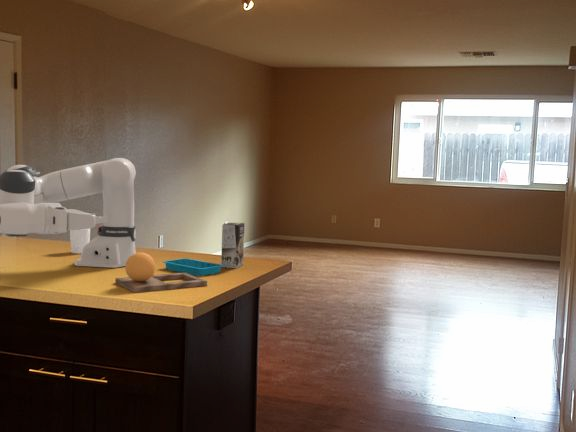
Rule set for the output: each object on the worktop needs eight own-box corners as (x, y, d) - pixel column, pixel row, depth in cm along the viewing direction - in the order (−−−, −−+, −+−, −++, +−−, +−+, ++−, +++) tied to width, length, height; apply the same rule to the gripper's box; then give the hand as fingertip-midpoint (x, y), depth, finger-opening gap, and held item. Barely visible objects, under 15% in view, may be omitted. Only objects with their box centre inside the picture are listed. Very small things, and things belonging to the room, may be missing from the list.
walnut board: (133, 292, 186) (134, 287, 186) (115, 282, 199) (115, 278, 199) (207, 285, 200) (207, 280, 199) (185, 276, 213) (185, 272, 213)
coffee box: (237, 268, 232) (238, 225, 230) (220, 267, 233) (221, 224, 232) (244, 264, 241) (245, 222, 239) (227, 263, 242) (228, 221, 241)
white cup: (72, 251, 260) (72, 226, 259) (92, 251, 261) (92, 227, 260) (67, 253, 253) (67, 229, 252) (87, 254, 253) (87, 229, 252)
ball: (122, 284, 190) (122, 254, 190) (127, 278, 199) (128, 250, 199) (152, 284, 191) (153, 255, 190) (156, 278, 200) (157, 250, 199)
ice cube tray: (201, 277, 214) (201, 269, 214) (161, 269, 226) (161, 261, 226) (224, 273, 223) (224, 265, 223) (185, 266, 236) (185, 258, 235)
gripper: (43, 225, 188) (90, 224, 195) (62, 233, 171) (112, 232, 179) (44, 204, 187) (90, 204, 195) (62, 210, 170) (113, 210, 178)
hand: (101, 218), depth 187 cm, fingers open, 8 cm apart
